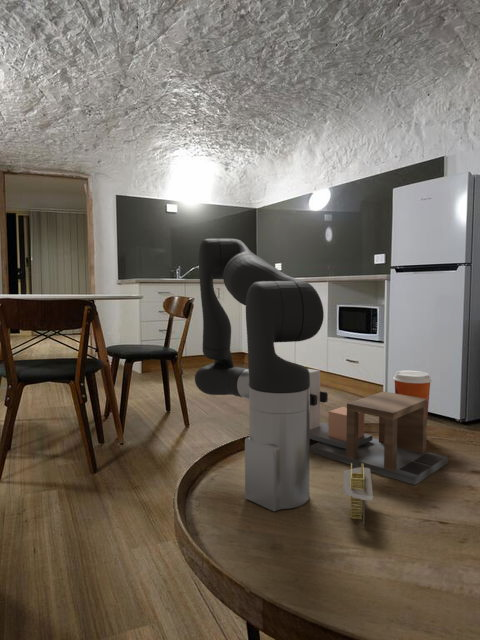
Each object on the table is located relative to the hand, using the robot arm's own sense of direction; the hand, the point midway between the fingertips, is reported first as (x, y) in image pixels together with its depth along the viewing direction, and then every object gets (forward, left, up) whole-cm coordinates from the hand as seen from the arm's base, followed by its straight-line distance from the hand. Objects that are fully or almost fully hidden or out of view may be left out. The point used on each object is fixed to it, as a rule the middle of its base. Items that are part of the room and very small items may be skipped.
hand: (321, 399), depth 97 cm
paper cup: (+15, -12, -9) cm, 22 cm away
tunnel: (0, -13, -9) cm, 16 cm away
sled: (0, -2, -7) cm, 8 cm away
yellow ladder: (-21, -22, -10) cm, 31 cm away
